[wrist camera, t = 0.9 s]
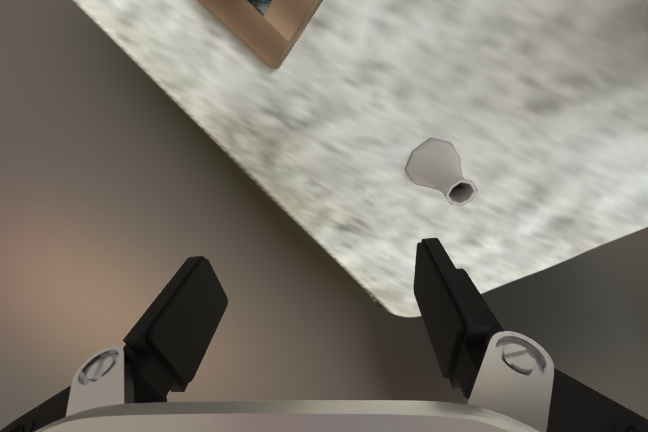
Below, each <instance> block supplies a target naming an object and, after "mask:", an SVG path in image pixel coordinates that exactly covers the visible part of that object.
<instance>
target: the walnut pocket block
mask: <svg viewBox="0 0 648 432" xmlns="http://www.w3.org/2000/svg"><path fill="white" fill-rule="evenodd" d="M199 1H200V2H201V3H202V4H203V5H204V6H205V7H206V8H207V9H209V10H210V11H211V12H212V13H213V14H214V15H215V16H216V17H217V18H218V19H219V20H220V21H221V22H222V23H224V24H225V25H226V26H227V27H228V28H229V29H230V30H231V31H232V32H233V33H234V34H235V35H236V36H237V37H239V38H240V39H241V40H242V41H243V42H244V43H245V44H246V45H247V46H248V47H249V48H250V49H251V50H252V51H254V52H255V53H256V54H257V55H258V56H259V57H260V58H261V59H262V60H263V61H264V62H265V63H266V64H267V65H269V66H270V67H271V68H279V67H280V66H281V64H282V63H283V61H284V60H285V58H286V56H287V55H288V53H289V52H290V50H291V49H292V47H293V46H294V44H295V43H296V41H297V39H298V38H299V36H300V35H301V33H302V32H303V30H304V29H305V27H306V26H307V24H308V22H309V21H310V19H311V18H312V16H313V15H314V13H315V12H316V10H317V9H318V7H319V6H320V4H321V2H322V1H323V0H272V1H271V3H270V5H269V7H268V9H267V10H266V12H265V14H263V13H262V12H261V11H260V10H259V9H258V8H257V7H256V6H255V5H254V4H253V3H252V2H251V1H250V0H199Z"/></svg>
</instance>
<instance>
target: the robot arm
mask: <svg viewBox="0 0 648 432" xmlns="http://www.w3.org/2000/svg"><path fill="white" fill-rule="evenodd" d="M414 294H415V298H416V300H417V303H418V306H419V309H420V312H421V315H422V318H423V321H424V323H425V326H426V329H427V332H428V335H429V338H430V341H431V344H432V347H433V349H434V352H435V355H436V358H437V361H438V364H439V367H440V369H441V372H442V375H443V377H444V378H449V380H450V383H451V386H452V388H461V389H462V392H463V395H464V396H465V397H466V398H467V399H468V402H467V405H464V404H458V403H449V402H433V401H391V400H390V401H389V400H388V401H387V400H355V401H354V400H348V401H347V400H341V401H340V400H339V401H338V400H336V401H335V400H333V401H332V400H331V401H217V402H167V394H168V392H169V390H170V391H172V392H184V391H185V389H186V387H187V385H188V383H189V382H191V381H192V380H193V378H194V376H195V374H196V371H197V370H198V367H199V365H200V363H201V361H202V359H203V357H204V355H205V352H206V350H207V348H208V346H209V344H210V342H211V339H212V337H213V335H214V333H215V331H216V329H217V327H218V324H219V322H220V320H221V318H222V316H223V314H224V312H225V309H226V307H227V304H228V299H227V296H226V294H225V292H224V290H223V288H222V286H221V284H220V282H219V280H218V278H217V276H216V274H215V272H214V271H213V268H212V266H211V264H210V262H209V260H208V259H205V257H203V256H197V257H189V258H188V259H187V260H186V261H185V262H184V264H183V265H182V266H181V268H180V269H179V270H178V271H177V273H176V274H175V275H174V277H173V278H172V279H171V280H170V281H169V283H168V284H167V285H166V287H165V288H164V289H163V290H162V292H161V293H160V294H159V295H158V297H157V298H156V299H155V301H154V302H153V303H152V304H151V305H150V307H149V308H148V309H147V310H146V312H145V313H144V314H143V316H142V317H141V318H140V319H139V321H138V322H137V323H136V324H135V326H134V327H133V328H132V329H131V331H130V332H129V333H128V335H127V336H126V337H125V338H124V340H123V341H124V342H125V343H126V345H125V346H124V348H122V347H120V346H111V347H107V348H105V349H103V350H101V351H99V352H97V353H96V354H94V355H93V356H92V357H90V358H89V359H88V360H87V361H85V363H84V364H83V365H82V366H81V367H80V368H79V369H78V371H77V372H76V374H75V375H74V378H73V380H72V384H71V386H69V387H68V388H66V389H65V390H63V391H61V392H60V393H58V394H56V395H55V396H53V397H52V398H50V399H48V400H47V401H45V402H44V403H42V404H40V405H39V406H37V407H36V408H34V409H32V410H31V411H29V412H28V413H26V414H24V415H23V416H21V417H20V418H18V419H16V420H15V421H13V422H12V423H10V424H9V425H8V426H6V427H5V428H3V429H2V430H1V431H0V432H648V420H647V419H645V418H644V417H642V416H640V415H638V414H636V413H635V412H633V411H631V410H629V409H627V408H625V407H624V406H622V405H620V404H618V403H617V402H615V401H613V400H611V399H609V398H607V397H606V396H604V395H602V394H600V393H598V392H597V391H595V390H593V389H591V388H590V387H588V386H586V385H584V384H582V383H580V382H579V381H577V380H575V379H573V378H571V377H569V376H568V375H566V374H564V373H562V372H561V371H559V370H557V369H555V368H554V364H553V362H552V360H551V358H550V356H549V355H548V354H547V353H546V351H545V350H544V349H543V348H542V347H541V346H540V345H538V344H537V343H536V342H535V341H533V340H531V339H530V338H528V337H526V336H524V335H521V334H519V333H516V332H509V331H504V330H503V329H502V327H501V326H500V324H499V322H498V321H497V319H496V318H495V316H494V315H493V313H492V312H491V310H490V308H489V307H488V306H487V304H486V302H485V301H484V299H483V298H482V296H481V294H480V293H479V291H478V290H477V288H476V287H475V285H474V284H473V282H472V280H471V279H470V277H469V276H468V274H467V273H466V271H465V270H464V269H462V268H461V269H456V268H455V266H454V264H453V263H452V261H451V259H450V258H449V256H448V254H447V253H446V251H445V249H444V248H443V246H442V244H441V243H440V241H439V240H438V238H428V239H422V241H421V243H417V252H416V264H415V277H414Z"/></svg>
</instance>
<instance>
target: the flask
mask: <svg viewBox="0 0 648 432" xmlns="http://www.w3.org/2000/svg"><path fill="white" fill-rule="evenodd" d="M405 171H406V172H407V173H408V175H409V176H410V177H411V179H412V180H413V181H414V183H415V184H418V185H422V186H426V187H430V188H433V189H437V190H439V191H441V192H442V193H444V196H445V197H446V199H447V200H448V201H449V203H450V204H452V205H457V206H462V205H464V204H466V203H468V202H469V201H471V200H472V199H473V197H474V195H475V194H476V192H477V188H476V187H475V185H474V183H473V182H472V181H470V180H465V179H464V178H463V176H462V170H461V160H460V157H459V155H458V153H457V152H456V150H455V149H454V147H453V145H452V144H451V142H446V141H442V140H437V139H433V138H431V139H429V140H428V141H427V142H425V143H424V144H422V145H421V146H420V147H418V148H417V149H416V150H414V151H413V152H412V155H411V157H410V160H409V162H408V165H407V167H406V170H405Z"/></svg>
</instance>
